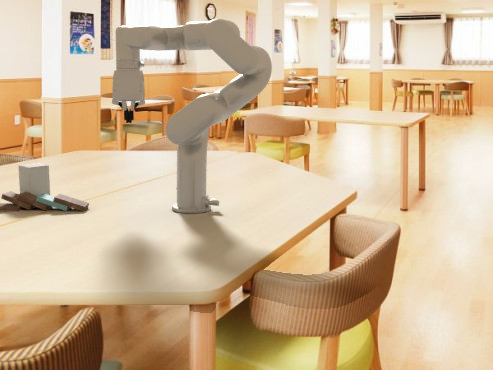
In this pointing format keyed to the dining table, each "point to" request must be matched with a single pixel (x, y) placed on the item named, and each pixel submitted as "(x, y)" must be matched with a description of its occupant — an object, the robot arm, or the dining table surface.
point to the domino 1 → (9, 207)
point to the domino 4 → (50, 202)
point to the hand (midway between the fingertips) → (129, 122)
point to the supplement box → (34, 178)
